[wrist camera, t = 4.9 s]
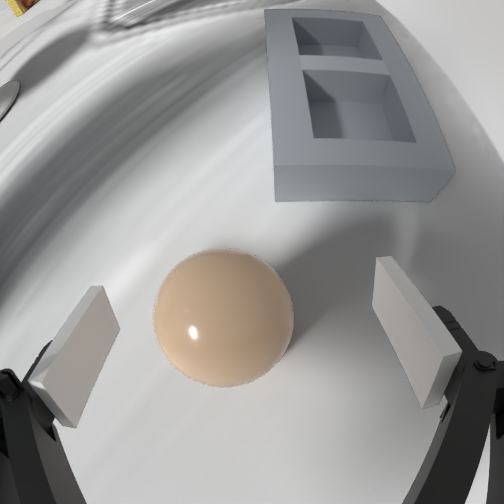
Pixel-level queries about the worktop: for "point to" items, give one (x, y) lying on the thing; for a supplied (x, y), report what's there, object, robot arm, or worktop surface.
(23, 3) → the candy box
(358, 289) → the worktop surface
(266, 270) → the peach dome-topped cylinder
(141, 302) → the worktop surface
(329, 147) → the divided tray
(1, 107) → the chalice
